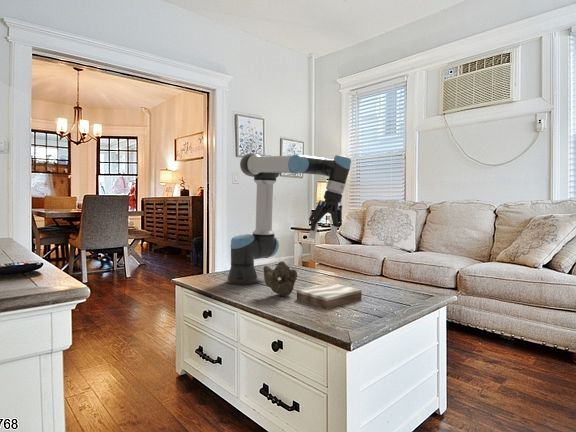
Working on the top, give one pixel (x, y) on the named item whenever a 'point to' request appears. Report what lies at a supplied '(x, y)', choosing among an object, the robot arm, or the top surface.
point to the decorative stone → (286, 275)
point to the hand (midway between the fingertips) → (321, 239)
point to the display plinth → (329, 295)
